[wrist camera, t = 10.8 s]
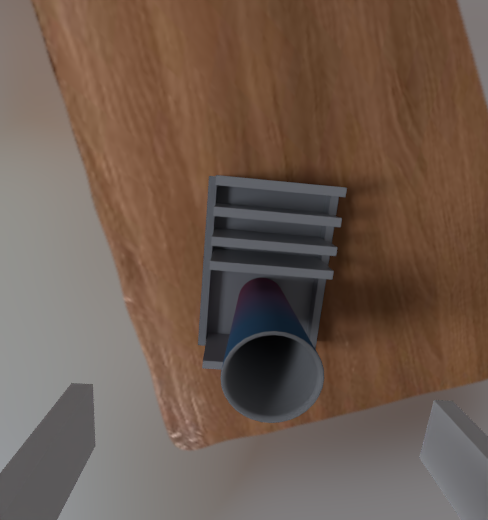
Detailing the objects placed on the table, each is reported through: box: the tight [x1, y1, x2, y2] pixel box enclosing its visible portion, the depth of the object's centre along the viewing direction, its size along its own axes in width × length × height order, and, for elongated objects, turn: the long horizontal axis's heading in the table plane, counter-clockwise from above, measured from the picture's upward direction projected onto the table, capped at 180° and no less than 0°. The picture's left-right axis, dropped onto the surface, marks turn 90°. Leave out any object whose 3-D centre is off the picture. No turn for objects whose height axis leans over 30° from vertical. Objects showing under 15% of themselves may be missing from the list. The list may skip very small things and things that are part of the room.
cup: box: [221, 278, 324, 423], centre depth 28 cm, size 7×7×15 cm
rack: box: [198, 175, 347, 369], centre depth 33 cm, size 18×13×7 cm
